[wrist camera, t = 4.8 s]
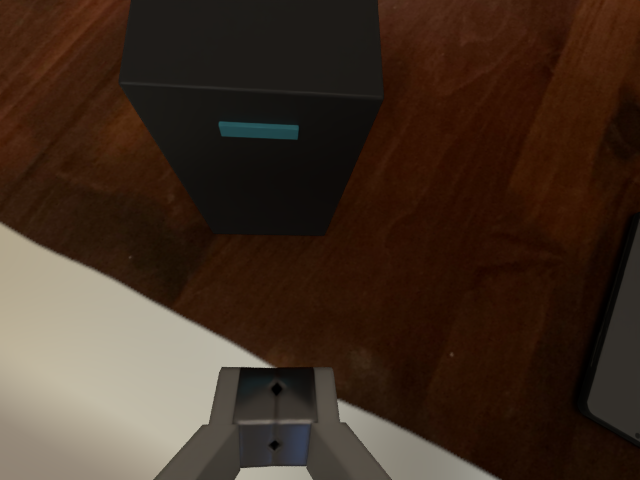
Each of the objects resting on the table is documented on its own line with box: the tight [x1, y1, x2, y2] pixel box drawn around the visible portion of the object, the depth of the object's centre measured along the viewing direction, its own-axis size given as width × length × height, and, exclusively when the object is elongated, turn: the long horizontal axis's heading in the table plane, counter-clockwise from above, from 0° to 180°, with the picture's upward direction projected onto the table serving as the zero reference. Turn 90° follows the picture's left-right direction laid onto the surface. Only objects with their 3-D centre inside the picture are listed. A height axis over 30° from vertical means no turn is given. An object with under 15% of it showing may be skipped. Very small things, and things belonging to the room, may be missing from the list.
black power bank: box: [119, 0, 384, 236], centre depth 17 cm, size 4×7×14 cm, turn 91°
